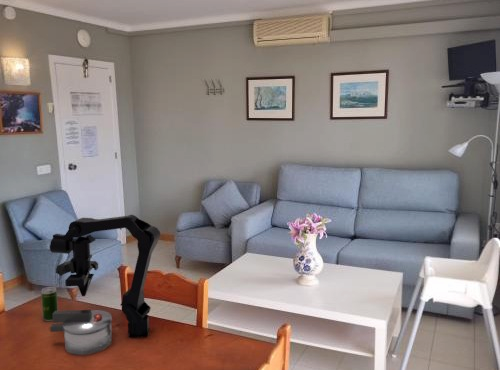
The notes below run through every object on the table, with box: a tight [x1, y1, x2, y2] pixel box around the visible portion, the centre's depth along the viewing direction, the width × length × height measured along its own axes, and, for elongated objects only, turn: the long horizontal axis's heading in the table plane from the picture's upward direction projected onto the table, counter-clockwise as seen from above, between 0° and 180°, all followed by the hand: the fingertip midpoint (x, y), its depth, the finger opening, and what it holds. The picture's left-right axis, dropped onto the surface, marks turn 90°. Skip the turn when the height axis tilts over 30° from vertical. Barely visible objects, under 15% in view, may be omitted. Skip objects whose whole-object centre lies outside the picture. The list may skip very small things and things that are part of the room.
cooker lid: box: [52, 309, 113, 334], centre depth 149 cm, size 19×16×4 cm
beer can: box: [40, 286, 59, 322], centre depth 168 cm, size 5×5×12 cm
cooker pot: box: [49, 323, 113, 356], centre depth 150 cm, size 20×15×7 cm
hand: (83, 295), depth 158 cm, fingers closed
